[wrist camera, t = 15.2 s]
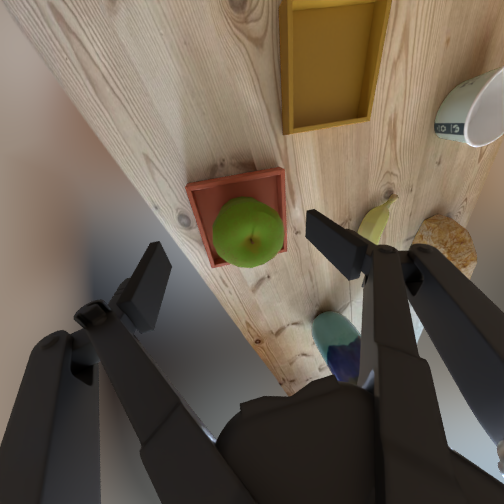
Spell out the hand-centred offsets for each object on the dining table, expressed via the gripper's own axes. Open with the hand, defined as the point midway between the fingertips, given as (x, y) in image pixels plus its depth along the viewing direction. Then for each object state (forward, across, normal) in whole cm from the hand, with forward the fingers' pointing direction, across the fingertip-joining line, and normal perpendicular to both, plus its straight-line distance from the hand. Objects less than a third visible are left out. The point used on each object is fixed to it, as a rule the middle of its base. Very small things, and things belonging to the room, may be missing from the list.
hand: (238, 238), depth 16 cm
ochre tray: (+22, +20, +14) cm, 32 cm away
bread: (+21, +59, -35) cm, 72 cm away
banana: (+21, +36, -18) cm, 46 cm away
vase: (+21, +26, -51) cm, 61 cm away
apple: (+21, +3, -7) cm, 22 cm away
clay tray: (+22, +3, -7) cm, 23 cm away
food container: (+22, +48, +6) cm, 53 cm away
